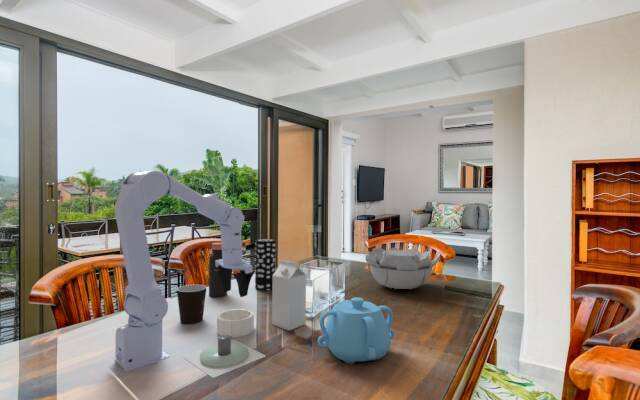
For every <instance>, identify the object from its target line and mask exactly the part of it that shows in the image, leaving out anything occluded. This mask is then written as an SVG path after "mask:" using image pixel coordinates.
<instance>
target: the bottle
mask: <svg viewBox="0 0 640 400" xmlns="http://www.w3.org/2000/svg"><path fill="white" fill-rule="evenodd" d="M211 251H212V253H211V254H210V255H209V257H208V296H209V297H211V298H222V297H225V296H227V295H228V292H224V291H223V289H222V286H221V283H220V280H219V278H218V277H217V275H216V274H215V272H214V270H215V269H218V267H216V264H215V261H216V260H219V259H222V245H221V242H212V243H211Z"/></svg>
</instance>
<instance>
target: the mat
mask: <svg viewBox="0 0 640 400" xmlns="http://www.w3.org/2000/svg"><path fill="white" fill-rule="evenodd" d="M231 343H236V344H241V345H243V346H245V347H246V348H247V349H248V356H247V358H246V359H245V360H244V361H243V362H241V363H239V364H236V365H233V366H229V367H220V368H216V367H209V366H205V365H203V364H202V363H201V362H200V354H201V352H202V351H203V350H205V349H207V348H208V347H206V348H203V349H201V350H198V351H197V350H196V351H193V352H192V353H188V354H185V355H183V356H182V358H183V359H184V360H185V361H188V362H189V363H190V364H192V365H193V366H194V367H196V368H198V369H199V370H201V371H202V372H204V374H206V375H208V377H211V378H212V379H215V378H218V377H219V376H222V375H224V374H227V373H230V372H232V371H234V370H237V369H239V368H242V367H244V366H246V365H248V364H252V363H254V362H256V361H258V360H261V359H263V358H265V357H267V355H265V354H263V353H262V352H259V351H258V350H256V349H254V348H251V346H248V345H246V344H244V343H241V342H240V341H238V340H236V339H234V338H233V339H232V338H231ZM216 345H218V343H217V344H216Z"/></svg>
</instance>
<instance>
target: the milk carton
mask: <svg viewBox="0 0 640 400" xmlns="http://www.w3.org/2000/svg"><path fill="white" fill-rule="evenodd" d="M306 276H307V274H306V273H305V272H304V271H303V270H302V269H301V268H300V267H299V262H293V261H288V260H287V261H286V260H284V259H283V260H282V259H281V260H280V264H279V265H278V267H277V268H276V269H275V272H274V274H273V283H272V290H271V291H272V293H271V294H272V303H271V305H272V307H271V309H272V313H271V317H272V319H271V320H272V323H271V324H272V326H274V327H275V328H276V327H277V328H280V329H283V330H286V331H289V332H290V331H292V330H294V329H297V328H300V327H301V326H303V325H306V316H307V315H306V313H307V312H306V310H307V309H306V307H307V306H306V298H307V297H306V296H307V294H306V293H307V291H306V290H307V285H306V284H307V277H306Z"/></svg>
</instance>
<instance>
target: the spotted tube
mask: <svg viewBox="0 0 640 400" xmlns="http://www.w3.org/2000/svg"><path fill="white" fill-rule="evenodd" d="M276 241H277V240H276V239H274V238H273V239H271V238H260V239H259V238H258V239H255V251H254V253H255V255H254V256H255V257H254V259H255V261H254V263H255V266H254V267H255V269H254V272H255V273H254V282H255V283H254V289H255V290H257V291H259V290H260V291H261V292H265V291H266V290H269V291H272V283H273V274H274V272H275V271H276V266H277V263H276V260H277V259H276V258H277V257H276V255H277V254H276V253H277V251H276V246H277V244H276V243H277V242H276ZM266 292H267V291H266Z"/></svg>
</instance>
